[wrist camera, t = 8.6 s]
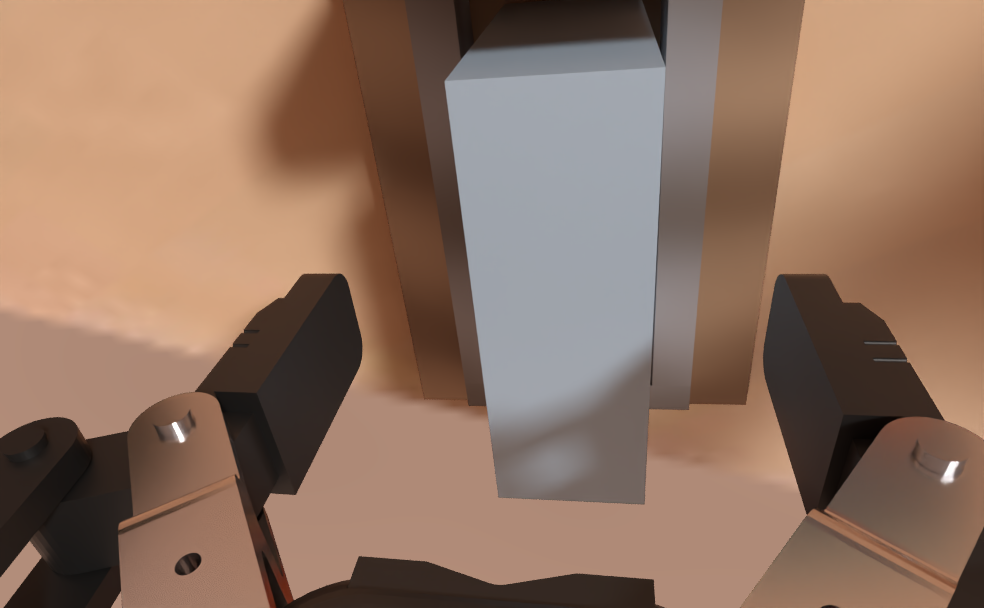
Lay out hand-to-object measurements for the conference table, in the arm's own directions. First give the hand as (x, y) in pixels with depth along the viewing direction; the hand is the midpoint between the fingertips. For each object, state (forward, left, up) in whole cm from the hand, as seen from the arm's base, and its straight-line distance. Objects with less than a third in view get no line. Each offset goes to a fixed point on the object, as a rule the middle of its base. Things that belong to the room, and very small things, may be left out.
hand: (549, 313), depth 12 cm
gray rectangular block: (+1, 0, -8) cm, 8 cm away
